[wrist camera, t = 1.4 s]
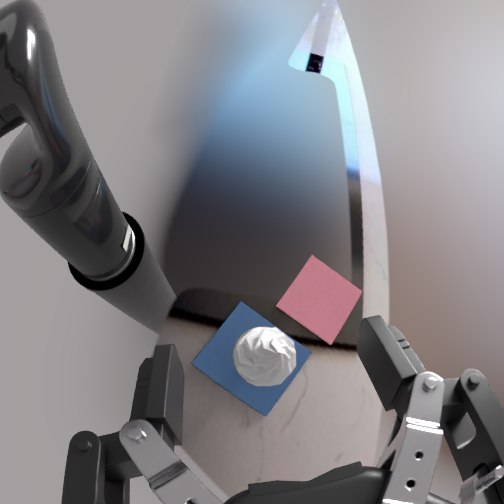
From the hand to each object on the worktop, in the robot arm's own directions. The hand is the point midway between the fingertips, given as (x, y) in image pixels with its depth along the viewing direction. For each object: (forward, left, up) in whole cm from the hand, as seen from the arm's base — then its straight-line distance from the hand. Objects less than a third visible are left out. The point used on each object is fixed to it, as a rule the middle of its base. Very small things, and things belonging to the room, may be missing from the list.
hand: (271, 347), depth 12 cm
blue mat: (+1, +1, -21) cm, 21 cm away
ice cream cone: (+1, +1, -21) cm, 21 cm away
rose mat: (+4, +11, -21) cm, 24 cm away
